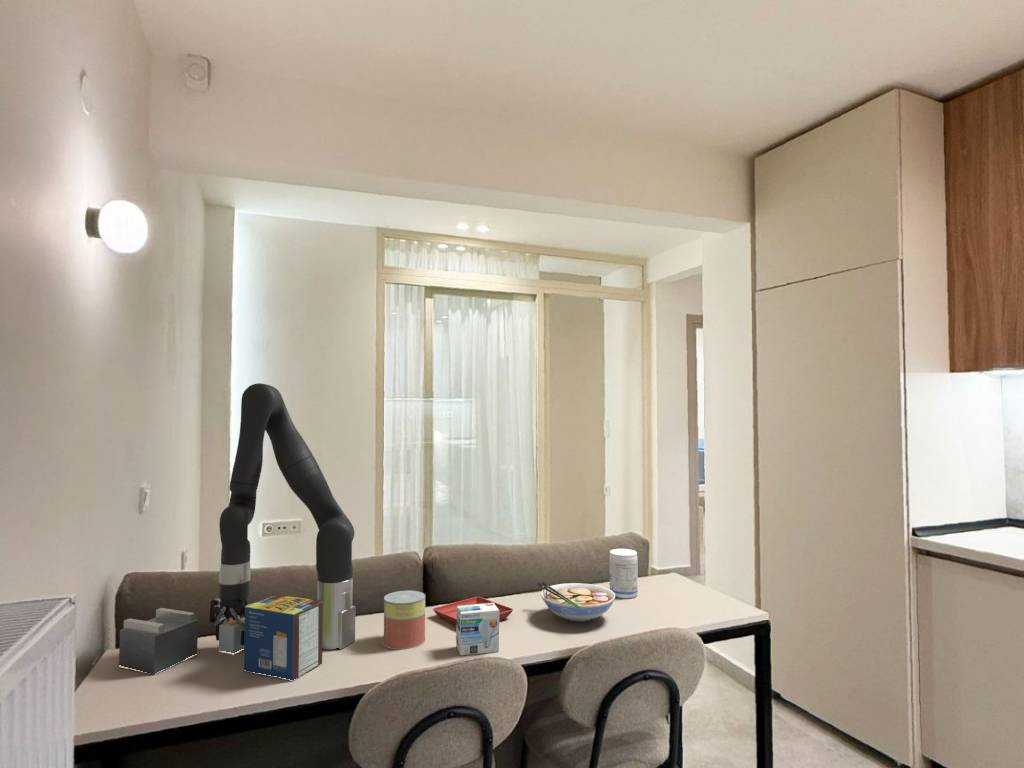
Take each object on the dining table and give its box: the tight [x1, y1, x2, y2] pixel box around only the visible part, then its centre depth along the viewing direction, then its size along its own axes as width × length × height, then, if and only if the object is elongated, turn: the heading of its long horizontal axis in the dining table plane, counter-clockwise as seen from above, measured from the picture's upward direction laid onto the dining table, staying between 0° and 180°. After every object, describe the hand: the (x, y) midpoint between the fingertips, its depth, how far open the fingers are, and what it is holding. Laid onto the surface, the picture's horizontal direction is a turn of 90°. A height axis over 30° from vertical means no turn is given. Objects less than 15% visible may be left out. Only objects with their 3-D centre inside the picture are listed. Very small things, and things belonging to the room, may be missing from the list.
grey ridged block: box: [118, 607, 199, 675], centre depth 146 cm, size 12×12×11 cm
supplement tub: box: [608, 548, 639, 599], centre depth 199 cm, size 10×10×15 cm
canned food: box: [383, 589, 426, 650], centre depth 159 cm, size 11×11×12 cm
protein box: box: [243, 594, 323, 681], centre depth 142 cm, size 10×15×16 cm
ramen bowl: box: [536, 581, 616, 623], centre depth 176 cm, size 25×23×8 cm
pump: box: [218, 618, 245, 653], centre depth 153 cm, size 5×5×9 cm
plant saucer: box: [432, 596, 514, 626], centre depth 176 cm, size 18×18×3 cm
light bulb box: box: [455, 603, 500, 656], centre depth 153 cm, size 11×7×11 cm, turn 105°
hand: (232, 641), depth 152 cm, fingers open, 8 cm apart
